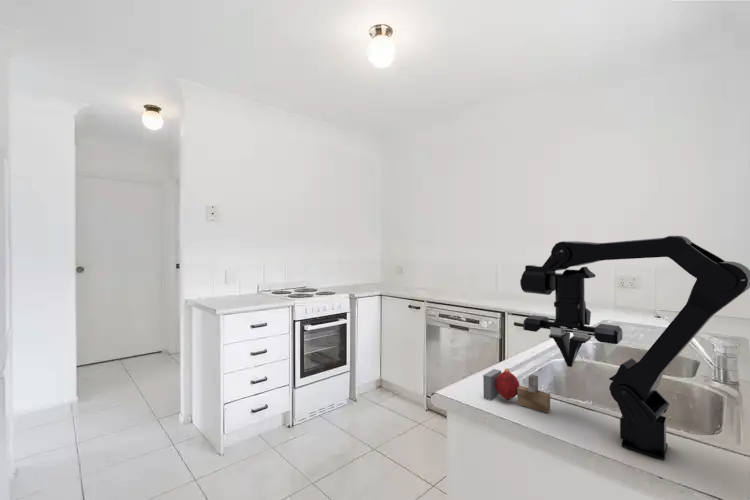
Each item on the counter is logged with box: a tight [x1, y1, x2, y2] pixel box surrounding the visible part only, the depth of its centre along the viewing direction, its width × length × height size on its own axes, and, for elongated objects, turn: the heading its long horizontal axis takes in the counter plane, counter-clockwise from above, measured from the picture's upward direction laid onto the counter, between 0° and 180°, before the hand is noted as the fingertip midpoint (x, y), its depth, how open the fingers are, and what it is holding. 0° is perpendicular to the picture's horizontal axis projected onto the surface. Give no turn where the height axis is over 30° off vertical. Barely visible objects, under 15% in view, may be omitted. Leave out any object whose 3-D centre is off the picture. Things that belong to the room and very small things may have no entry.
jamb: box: [482, 368, 502, 401], centre depth 92 cm, size 2×6×6 cm, turn 136°
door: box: [516, 374, 551, 414], centre depth 84 cm, size 7×2×8 cm, turn 46°
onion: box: [495, 367, 521, 401], centre depth 89 cm, size 6×6×8 cm
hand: (570, 366), depth 78 cm, fingers closed
